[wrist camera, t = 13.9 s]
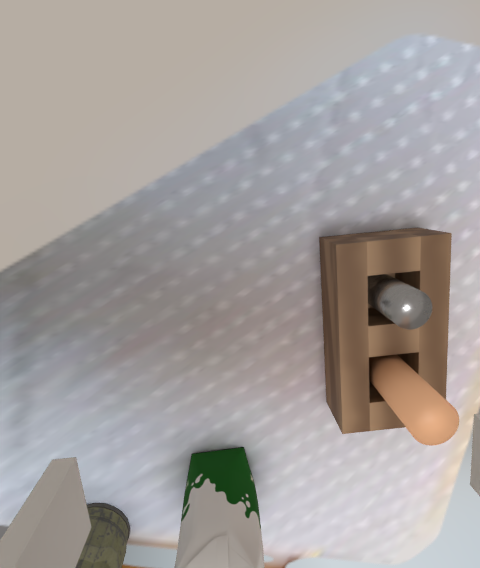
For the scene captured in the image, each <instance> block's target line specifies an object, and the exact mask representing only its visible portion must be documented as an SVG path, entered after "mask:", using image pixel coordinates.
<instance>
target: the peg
mask: <svg viewBox="0 0 480 568" xmlns="http://www.w3.org/2000/svg"><path fill="white" fill-rule="evenodd" d="M369 380H370V382H371V383H372V384H373V385H374V387H375V388H376V389H377V391H378V392H379V393H380V394H381V396H382V397H383V398H384V400H385V401H386V402H387V404H388V405H389V406H390V407H391V409H392V410H393V411H394V413H395V414H396V415H397V416H398V418H399V419H400V420H401V422H402V423H403V424H404V425H405V427H406V428H407V429H408V431H409V432H410V433H411V434H412V436H413V437H414V438H415V439H416V440H417V441H418V442H420V443H422V444H425V445H438V444H441V443H444V442H446V441H447V440H449V439H450V438H451V437H452V436H453V435H454V434H455V432H456V430H457V428H458V425H459V416H458V413H457V411H456V409H455V408H454V407H453V406H452V405H451V404H450V403H449V402H448V401H447V400H445V399H444V398H443V397H442V396H441V395H440V394H439V393H438V392H437V391H436V390H435V389H434V388H432V387H431V386H430V385H429V384H428V383H427V382H426V381H425V380H424V379H423V378H422V377H421V376H419V375H418V374H417V373H416V372H415V371H414V370H413V369H412V368H411V367H410V366H409V365H408V364H406V363H405V362H404V361H403V360H402V359H401V358H400V357H399V356H398V355H397V354H396V355H386V356H377V357H369Z"/></svg>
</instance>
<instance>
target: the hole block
mask: <svg viewBox="0 0 480 568" xmlns="http://www.w3.org/2000/svg"><path fill="white" fill-rule="evenodd" d="M319 242H320V264H321V287H322V309H323V331H324V354H325V376H326V398H327V404H328V406H329V408H330V410H331V412H332V414H333V416H334V418H335V420H336V422H337V424H338V426H339V428H340V430H341V432H342V434H346V433H356V432H365V431H374V430H383V429H393V428H402V427H405V425H404V424H403V423H402V422H401V420H400V419H399V418H398V416H397V415H396V414H395V413H394V411H393V410H392V409H391V407H390V406H389V405H388V404H387V402H386V401H385V400H384V398H383V397H382V396H381V394H380V393H379V392H378V391H377V389H376V388H375V387H374V385H373V384H372V383H371V382H370V380H369V357H377V356H386V355H396V354H397V355H398V356H399V357H400V358H401V359H402V360H403V361H404V362H405V363H406V364H408V365H409V366H410V367H411V368H412V369H413V370H414V371H415V372H416V373H417V374H418V375H419V376H421V377H422V378H423V379H424V380H425V381H426V382H427V383H428V384H429V385H430V386H431V387H432V388H434V389H435V390H436V391H437V392H438V393H439V394H440V395H441V396H442V397H443V398H444V399H445V400H446V378H447V349H448V320H449V291H450V262H451V233H447V232H441V231H435V230H429V229H423V228H410V229H399V230H389V231H379V232H369V233H358V234H348V235H338V236H328V237H319ZM381 274H387V275H389V276H392V277H394V278H396V279H398V280H400V281H402V282H404V283H406V284H408V285H410V286H412V287H414V288H416V289H418V290H420V291H422V292H424V293H426V294H427V295H428V296H429V298H430V299H431V302H432V313H431V316H430V318H429V319H428V321H427V322H426V323H425V324H424V325H422V326H421V327H419V328H416V329H411V330H408V329H403V328H401V327H399V326H398V325H396V324H395V323H394V322H392V321H391V320H390V319H388V318H387V317H386V316H384V315H383V314H382V313H380V312H379V311H378V310H376V309H375V308H374V307H372V306H371V305H370V304H368V276H371V275H381Z"/></svg>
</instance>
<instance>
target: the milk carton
mask: <svg viewBox="0 0 480 568" xmlns="http://www.w3.org/2000/svg"><path fill="white" fill-rule="evenodd" d="M175 568H264V555H263V543H262V534H261V525H260V516H259V508H258V500H257V495H256V489H255V484H254V480H253V477H252V474H251V470H250V467H249V464H248V460H247V457H246V454H245V451H244V447H242V448H234V449H226V450H219V451H211V452H203V453H196V454H192V456H191V462H190V467H189V472H188V478H187V483H186V489H185V496H184V503H183V511H182V518H181V526H180V534H179V542H178V549H177V557H176V563H175Z"/></svg>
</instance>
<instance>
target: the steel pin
mask: <svg viewBox="0 0 480 568" xmlns="http://www.w3.org/2000/svg"><path fill="white" fill-rule="evenodd" d="M368 304H370V305H371V306H372V307H374V308H375V309H376V310H378V311H379V312H380V313H382V314H383V315H384V316H386V317H387V318H388V319H390V320H391V321H392V322H394V323H395V324H396V325H398V326H399V327H401V328H403V329H408V330H411V329H416V328H419V327H421V326H422V325H424V324H425V323H426V322H427V321H428V319H429V318H430V316H431V313H432V302H431V299H430V298H429V296H428V295H427V294H426V293H424V292H422V291H420V290H418V289H416V288H414V287H412V286H410V285H408V284H406V283H404V282H402V281H400V280H398V279H396V278H394V277H392V276H389V275H387V274H381V275H371V276H368Z"/></svg>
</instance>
